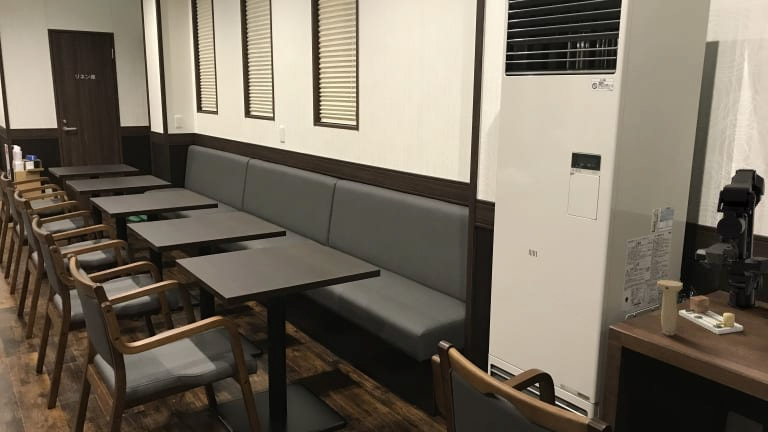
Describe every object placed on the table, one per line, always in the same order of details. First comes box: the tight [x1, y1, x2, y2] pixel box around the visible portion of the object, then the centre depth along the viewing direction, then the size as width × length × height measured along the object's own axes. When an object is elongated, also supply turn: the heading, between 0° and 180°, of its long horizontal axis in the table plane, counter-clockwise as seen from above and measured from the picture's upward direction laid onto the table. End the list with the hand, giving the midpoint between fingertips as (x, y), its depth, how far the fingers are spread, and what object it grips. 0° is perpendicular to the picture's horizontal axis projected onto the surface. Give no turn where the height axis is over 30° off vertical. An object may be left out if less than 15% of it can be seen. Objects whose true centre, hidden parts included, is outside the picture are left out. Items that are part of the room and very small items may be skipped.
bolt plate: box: [678, 309, 744, 335], centre depth 177 cm, size 8×16×4 cm, turn 11°
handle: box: [656, 279, 684, 336], centre depth 170 cm, size 5×6×15 cm
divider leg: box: [684, 295, 710, 313], centre depth 183 cm, size 6×3×4 cm, turn 101°
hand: (730, 290), depth 164 cm, fingers open, 9 cm apart
